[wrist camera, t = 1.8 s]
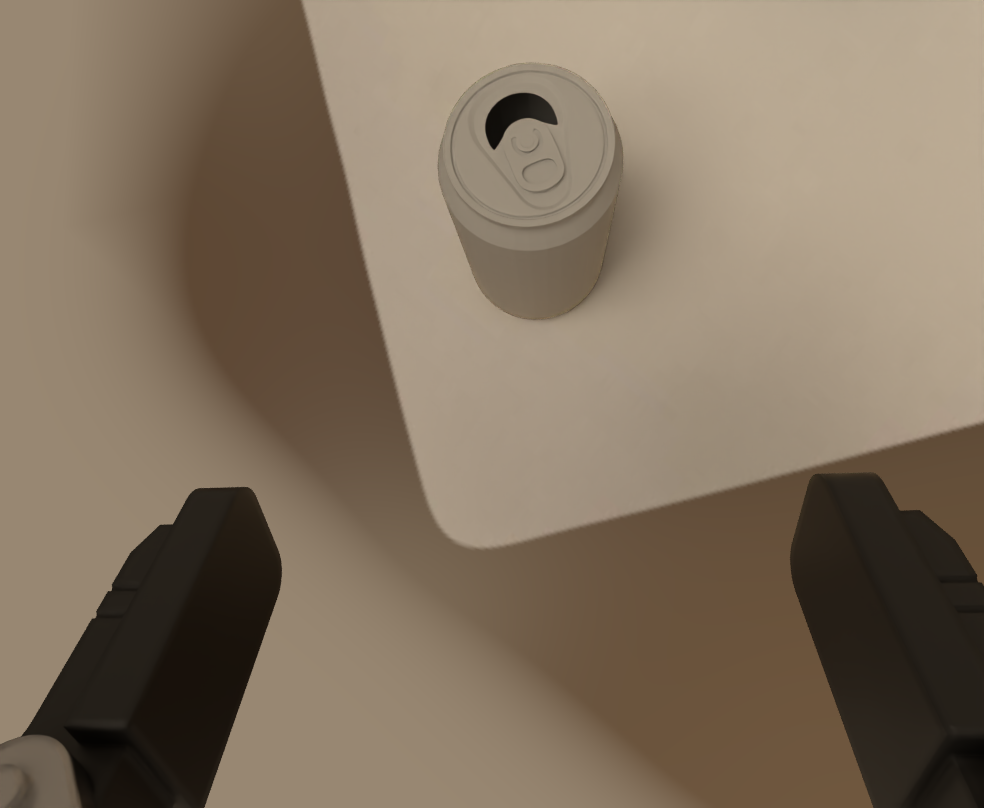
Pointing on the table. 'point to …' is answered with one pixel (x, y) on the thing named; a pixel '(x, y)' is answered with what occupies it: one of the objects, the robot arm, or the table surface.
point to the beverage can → (532, 185)
